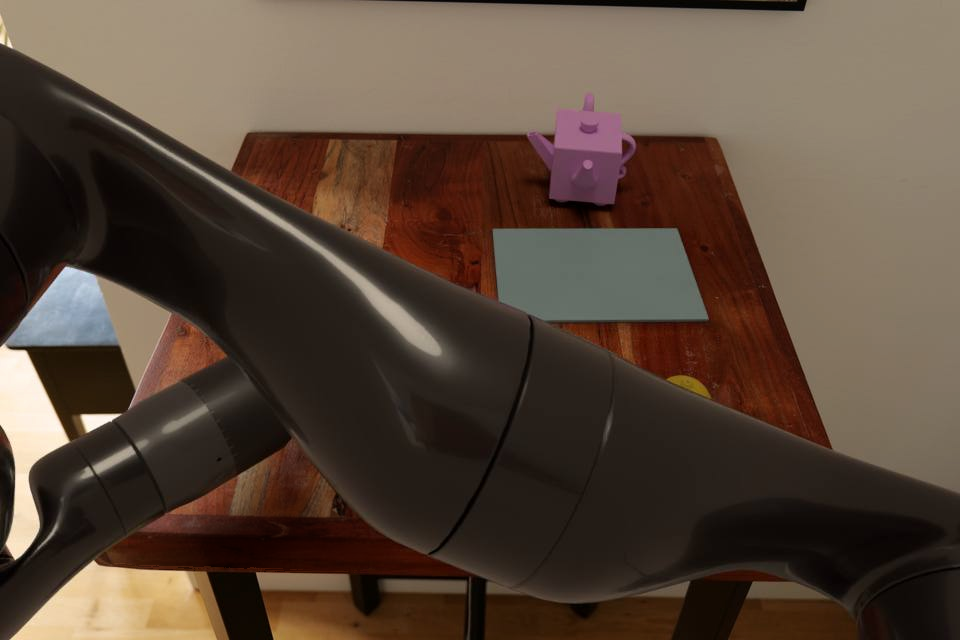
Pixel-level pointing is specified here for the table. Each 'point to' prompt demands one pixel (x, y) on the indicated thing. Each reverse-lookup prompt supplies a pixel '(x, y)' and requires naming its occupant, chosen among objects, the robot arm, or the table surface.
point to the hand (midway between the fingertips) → (398, 322)
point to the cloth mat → (597, 275)
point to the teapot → (585, 154)
